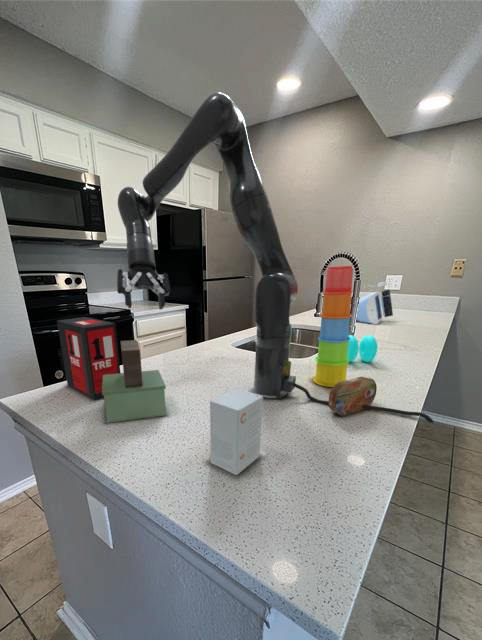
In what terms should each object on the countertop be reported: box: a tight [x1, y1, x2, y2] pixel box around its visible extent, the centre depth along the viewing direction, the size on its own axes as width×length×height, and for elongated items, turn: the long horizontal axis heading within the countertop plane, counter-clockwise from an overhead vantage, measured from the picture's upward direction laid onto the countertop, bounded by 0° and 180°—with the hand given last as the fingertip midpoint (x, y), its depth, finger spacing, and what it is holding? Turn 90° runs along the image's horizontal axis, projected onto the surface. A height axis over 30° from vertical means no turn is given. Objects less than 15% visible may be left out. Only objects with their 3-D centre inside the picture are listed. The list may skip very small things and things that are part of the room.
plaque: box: [120, 339, 143, 388], centre depth 79 cm, size 10×4×9 cm, turn 16°
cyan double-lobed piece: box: [347, 334, 378, 363], centre depth 121 cm, size 10×10×10 cm
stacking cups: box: [312, 265, 354, 388], centre depth 95 cm, size 10×10×35 cm
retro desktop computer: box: [355, 281, 394, 325], centre depth 200 cm, size 25×23×17 cm
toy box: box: [102, 369, 167, 424], centre depth 82 cm, size 15×13×8 cm
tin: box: [328, 376, 378, 417], centre depth 81 cm, size 15×3×8 cm, turn 117°
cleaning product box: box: [56, 316, 121, 401], centre depth 93 cm, size 16×9×20 cm, turn 47°
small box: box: [209, 388, 264, 476], centre depth 60 cm, size 8×6×13 cm
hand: (146, 307), depth 87 cm, fingers open, 8 cm apart
